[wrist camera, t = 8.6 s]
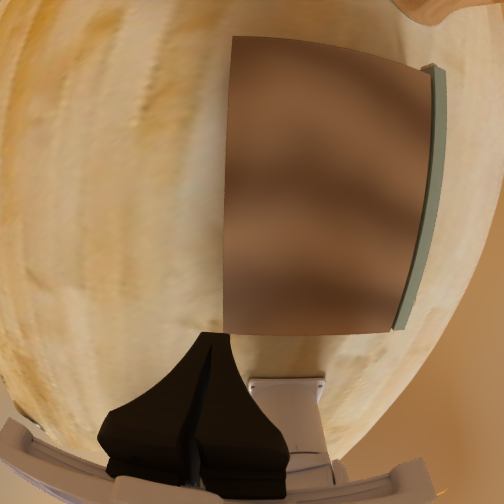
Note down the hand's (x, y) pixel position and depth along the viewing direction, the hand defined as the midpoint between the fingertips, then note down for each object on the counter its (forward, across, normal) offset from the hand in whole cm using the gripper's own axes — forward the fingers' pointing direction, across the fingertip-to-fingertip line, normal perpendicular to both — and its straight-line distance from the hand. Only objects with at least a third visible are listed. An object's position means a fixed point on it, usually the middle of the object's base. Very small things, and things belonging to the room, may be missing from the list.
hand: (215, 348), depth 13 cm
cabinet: (+9, -6, -6) cm, 13 cm away
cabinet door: (+9, -13, -7) cm, 18 cm away
